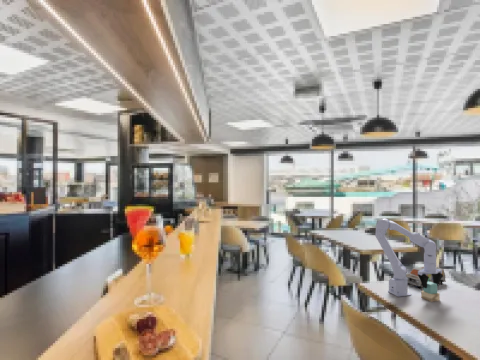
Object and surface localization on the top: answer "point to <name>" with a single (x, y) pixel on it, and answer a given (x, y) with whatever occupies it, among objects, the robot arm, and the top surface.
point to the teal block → (431, 288)
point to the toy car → (415, 279)
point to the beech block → (430, 296)
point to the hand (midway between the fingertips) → (430, 287)
